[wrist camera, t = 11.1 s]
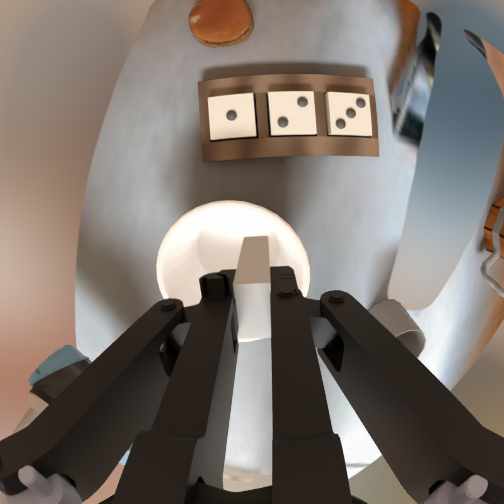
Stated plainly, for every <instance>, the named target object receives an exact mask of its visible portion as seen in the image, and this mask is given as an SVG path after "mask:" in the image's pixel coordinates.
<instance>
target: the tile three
mask: <svg viewBox="0 0 504 504" xmlns="http://www.w3.org/2000/svg"><path fill="white" fill-rule="evenodd" d="M324 103H325V114H326V128H327V135H328V136H360V137H365V136H372V124H371V111H370V101H369V95H366V94H355V93H341V92H327V93H326V94H325V95H324Z"/></svg>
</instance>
